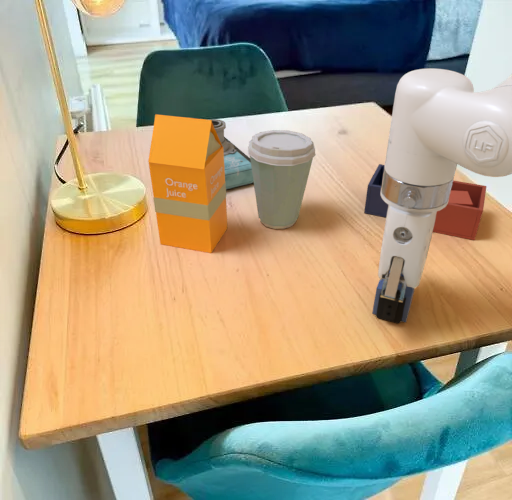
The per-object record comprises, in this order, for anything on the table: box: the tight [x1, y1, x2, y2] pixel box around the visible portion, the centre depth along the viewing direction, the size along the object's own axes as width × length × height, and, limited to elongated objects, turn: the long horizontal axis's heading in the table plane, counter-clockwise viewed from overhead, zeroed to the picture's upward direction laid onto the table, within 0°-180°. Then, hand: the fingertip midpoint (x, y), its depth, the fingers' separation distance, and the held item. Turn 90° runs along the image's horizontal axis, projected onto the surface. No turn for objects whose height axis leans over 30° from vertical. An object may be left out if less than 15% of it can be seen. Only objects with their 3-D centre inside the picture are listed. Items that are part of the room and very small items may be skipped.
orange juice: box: [147, 113, 229, 254], centre depth 77 cm, size 8×9×20 cm
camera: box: [210, 118, 254, 190], centre depth 98 cm, size 16×10×10 cm
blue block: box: [372, 271, 416, 323], centre depth 66 cm, size 4×4×4 cm
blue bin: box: [363, 163, 388, 218], centre depth 88 cm, size 9×9×6 cm
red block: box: [448, 190, 473, 207], centre depth 83 cm, size 4×4×4 cm
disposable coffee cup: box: [247, 129, 316, 230], centre depth 82 cm, size 11×11×15 cm
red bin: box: [433, 179, 487, 241], centre depth 84 cm, size 9×9×6 cm
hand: (392, 305), depth 68 cm, fingers closed on blue block, 4 cm apart
